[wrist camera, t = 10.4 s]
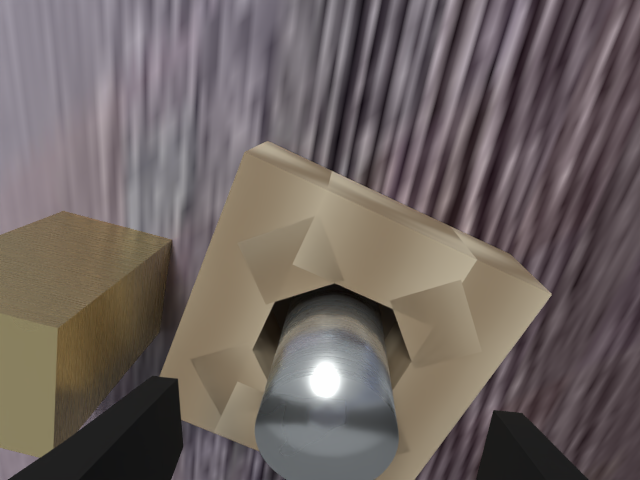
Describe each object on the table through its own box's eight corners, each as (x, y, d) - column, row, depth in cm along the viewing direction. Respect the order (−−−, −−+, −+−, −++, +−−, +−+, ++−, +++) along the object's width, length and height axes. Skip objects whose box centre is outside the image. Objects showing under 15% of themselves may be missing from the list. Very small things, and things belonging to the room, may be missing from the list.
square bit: (172, 239, 14) (57, 328, 9) (159, 332, 16) (52, 461, 10) (63, 210, 14) (-122, 281, 9) (60, 306, 16) (-103, 421, 10)
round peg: (380, 267, 14) (401, 378, 8) (377, 346, 15) (395, 494, 9) (289, 266, 14) (248, 375, 8) (292, 344, 15) (259, 488, 10)
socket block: (510, 254, 14) (552, 294, 11) (387, 437, 17) (394, 506, 14) (267, 141, 13) (244, 152, 10) (184, 352, 16) (147, 406, 13)
